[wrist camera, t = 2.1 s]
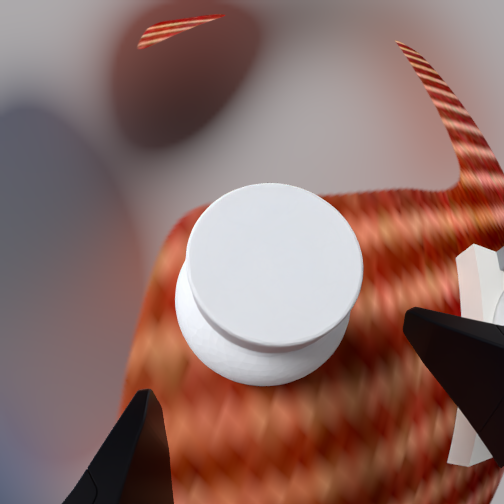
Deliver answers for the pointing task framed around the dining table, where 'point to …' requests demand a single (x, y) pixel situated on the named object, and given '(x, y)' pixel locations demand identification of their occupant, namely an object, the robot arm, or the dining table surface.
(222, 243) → the supplement bottle
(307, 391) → the dining table surface
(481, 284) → the kitchen scale
